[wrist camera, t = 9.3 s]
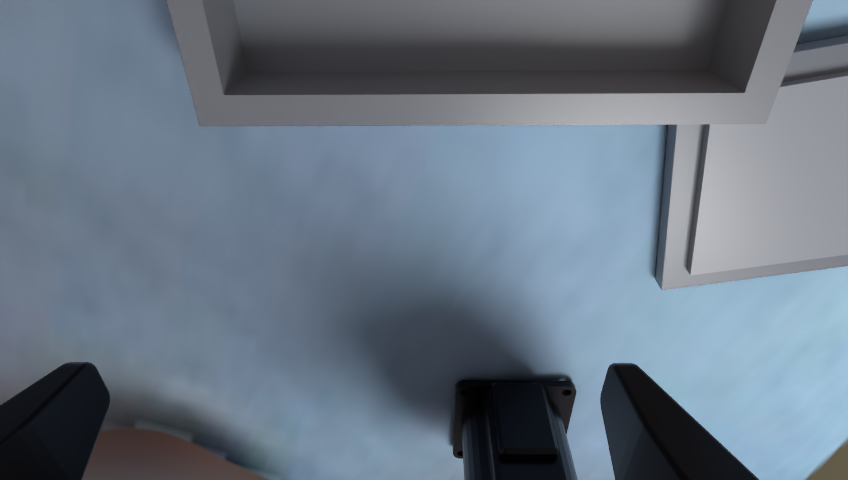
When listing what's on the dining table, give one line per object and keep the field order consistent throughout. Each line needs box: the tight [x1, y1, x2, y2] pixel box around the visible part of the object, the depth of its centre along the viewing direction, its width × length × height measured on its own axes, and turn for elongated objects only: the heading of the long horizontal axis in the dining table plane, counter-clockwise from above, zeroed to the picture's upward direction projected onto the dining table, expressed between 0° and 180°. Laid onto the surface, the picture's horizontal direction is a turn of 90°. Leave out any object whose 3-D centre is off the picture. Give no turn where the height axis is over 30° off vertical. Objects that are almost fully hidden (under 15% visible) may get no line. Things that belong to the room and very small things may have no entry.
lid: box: [655, 35, 848, 290], centre depth 20 cm, size 10×12×1 cm
